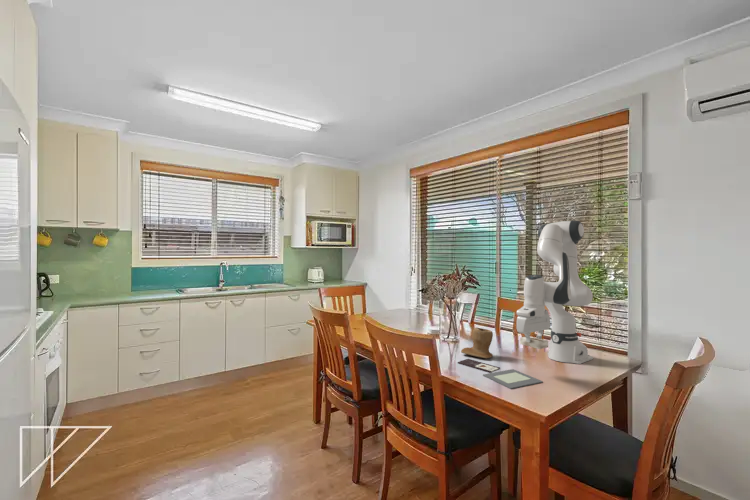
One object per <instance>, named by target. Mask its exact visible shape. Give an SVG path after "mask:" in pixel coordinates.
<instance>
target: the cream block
mask: <svg viewBox="0 0 750 500" xmlns="http://www.w3.org/2000/svg"><path fill="white" fill-rule="evenodd" d="M530 338H532V342H526V337H525V336H523V337H522V336H521V337H520V340H519V343H520V345H522V346H527V347H530V348H534V349H538V350H542V349H547V348H549V340H547V339H539V338H536V337H533V336H530Z"/></svg>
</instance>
